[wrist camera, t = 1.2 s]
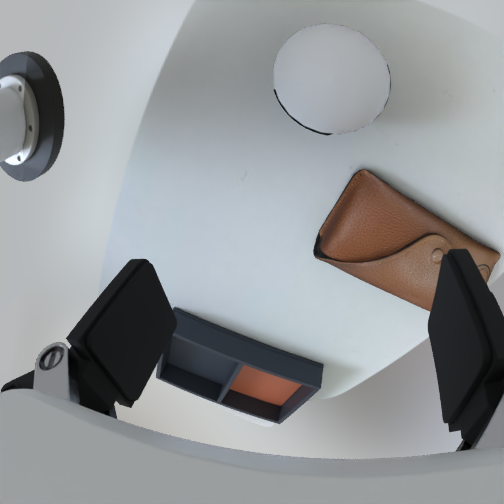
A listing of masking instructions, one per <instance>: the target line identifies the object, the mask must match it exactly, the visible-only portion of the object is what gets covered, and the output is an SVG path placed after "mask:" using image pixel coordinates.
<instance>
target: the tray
mask: <svg viewBox="0 0 504 504" xmlns="http://www.w3.org/2000/svg"><path fill="white" fill-rule="evenodd" d="M173 312H174V315H175V317H176V319H177V327H176V329H175V331H174V333H173V335H172V337H171V339H170V340H169V342H168V344H167V346H166V348H165V350H164V352H163V354H162V355H161V357H160V359H159V361H158V364H157V372H156V378H158V379H160V380H162V381H164V382H167V383H169V384H171V385H173V386H176V387H178V388H180V389H183V390H185V391H187V392H190V393H192V394H195V395H197V396H200V397H202V398H205V399H207V400H210V401H212V402H215V403H218V404H220V405H223V406H226V407H229V408H231V409H234V410H237V411H240V412H243V413H246V414H249V415H252V416H255V417H258V418H261V419H264V420H268V421H271V422H274V423H278V424H280V423H282V422H283V421H284V420H285V419H286V418H287V417H289V416H290V415H291V414H292V413H294V411H296V410H297V409H298V408H299V407H300V406H301V405H303V404H304V403H305V402H306V401H307V400H308V399H309V398H311V397H312V396H313V395H314V394H315V393H316V392H317V391H318V390H319V389H320V388H321V382H322V373H323V364H320V363H317V362H314V361H311V360H308V359H305V358H302V357H299V356H296V355H293V354H291V353H288V352H285V351H282V350H279V349H277V348H274V347H271V346H269V345H266V344H263V343H261V342H258V341H255V340H253V339H250V338H247V337H245V336H242V335H240V334H237V333H235V332H232V331H230V330H227V329H225V328H222V327H220V326H217V325H215V324H212V323H210V322H208V321H205V320H203V319H200V318H198V317H196V316H193V315H191V314H189V313H187V312H184V311H182V310H180V309H177V308H175V307H174V309H173Z"/></svg>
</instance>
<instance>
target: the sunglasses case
mask: <svg viewBox="0 0 504 504" xmlns="http://www.w3.org/2000/svg"><path fill="white" fill-rule="evenodd" d="M463 248H466V249H467V250H468V251H469V253H470V254H471V256H472V258H473V260H474V261H475V263H476V265H477V267H478V269H479V271H480V273H481V274H482V276H483V278H484V280H485V282H486V284H487V281H488V279H489V277H490V275H491V272H492V269H493V267H494V265H495V264H496V262H497V261H498V260H499V258H500V253H498V252H497V251H495V250H493V249H491V248H489V247H487V246H485V245H483V244H481V243H479V242H477V241H475V240H474V239H472V238H470V237H469V236H467V235H466V234H464V233H462V232H461V231H459V230H458V229H457V228H455V227H453V226H452V225H450V224H449V223H447V222H446V221H444V220H442V219H441V218H440V217H438V216H436V215H435V214H433V213H431V212H430V211H428V210H427V209H426V208H424V207H422V206H421V205H419V204H417V203H415V202H414V201H413V200H410V199H409V198H408V197H406V196H404V195H403V194H401V193H400V192H398V191H397V190H395V189H394V188H392V187H391V186H390V185H388V184H387V183H386V182H384V181H383V180H381V179H380V178H379V177H377V176H376V175H374V174H373V173H371V172H370V171H368V170H366V169H362V170H359V171H358V172H356V173H355V174H354V175H353V177H352V178H351V180H350V181H349V183H348V185H347V186H346V188H345V189H344V191H343V192H342V194H341V196H340V198H339V199H338V201H337V202H336V204H335V206H334V207H333V209H332V211H331V212H330V214H329V215H328V217H327V218H326V220H325V222H324V224H323V225H322V227H321V229H320V230H319V233H318V235H317V238H316V242H315V246H314V250H313V252H314V256H315V258H317V259H319V260H321V261H324V262H327V263H329V264H331V265H333V266H335V267H337V268H339V269H341V270H342V271H344V272H346V273H348V274H350V275H352V276H354V277H356V278H358V279H360V280H362V281H365V282H367V283H369V284H371V285H373V286H375V287H377V288H380V289H382V290H384V291H386V292H388V293H391V294H393V295H395V296H397V297H399V298H401V299H404V300H406V301H408V302H410V303H412V304H414V305H416V306H419V307H421V308H423V309H425V310H428V311H430V312H431V308H432V304H433V299H434V295H435V291H436V286H437V281H438V276H439V271H440V266H441V260H442V256H443V255H444V254H447V253H448V250H449V249H463Z"/></svg>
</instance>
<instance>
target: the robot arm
mask: <svg viewBox="0 0 504 504" xmlns="http://www.w3.org/2000/svg"><path fill="white" fill-rule="evenodd" d="M38 135H39V112H38V106H37V102H36V98H35V95H34V93H33V90H32V88H31V87H30V85H29V83H28V82H27V81H26V80H25V79H24V78H22V77H21V76H19V75H9V76H6V77H3V78H2V79H0V162H2V161H5V162H7V163H9V164H11V165H19V164H21V163H23V162H25V161H27V160H28V159H29V158H30V157H31V156H32V154H33V152H34V150H35V148H36V145H37V141H38ZM176 327H177V319H176V317H175V315H174V312H173V310H172V308H171V306H170V304H169V301H168V299H167V297H166V295H165V292H164V290H163V288H162V285H161V283H160V281H159V278H158V276H157V274H156V271H155V269H154V266H153V265H152V264H151V263H149V261H148V260H147V259H132V260H130V261H129V262H128V263H127V264H126V265H125V266H124V268H123V269H122V270H121V271H120V272H119V273H118V274H117V276H116V277H115V278H114V279H113V280H112V282H111V283H110V284H109V285H108V286H107V287H106V289H105V290H104V291H103V292H102V294H101V295H100V296H99V297H98V298H97V300H96V301H95V302H94V303H93V305H92V306H91V307H90V308H89V309H88V311H87V312H86V313H85V315H84V316H83V317H82V318H81V320H80V321H79V322H78V323H77V325H76V326H75V327H74V329H73V330H72V331H71V332H70V334H69V335H68V336H67V338H66V339H67V340H68V342H69V343H70V344H71V348H70V349H69V348H68V347H67V346H66V344H64V343H62V342H56V343H53V344H51V345H49V346H47V347H46V348H45V349H44V350H43V351H42V352H41V353H40V354H39V356H38V358H37V360H36V363H35V370H33V371H31V372H29V373H27V374H25V375H23V376H21V377H18V378H16V379H14V380H12V381H10V382H8V383H6V384H5V385H4V386H3V387H2V389H1V393H0V504H504V316H503V314H502V311H501V309H500V307H499V305H498V303H497V301H496V299H495V297H494V295H493V294H492V292H490V290H489V288H488V286H487V284H486V282H485V280H484V278H483V276H482V274H481V273H480V271H479V269H478V267H477V265H476V263H475V261H474V260H473V258H472V256H471V254H470V253H469V251H468V250H467V249H466V248H463V249H449V250H448V253H447V254H444V255H443V256H442V260H441V266H440V271H439V276H438V281H437V286H436V291H435V295H434V299H433V304H432V308H431V312H430V316H429V320H428V333H429V337H430V342H431V346H432V352H433V357H434V362H435V368H436V373H437V379H438V385H439V392H440V400H441V408H442V416H443V421H444V423H448V425H449V432H453V431H459V430H461V436H462V439H463V441H462V443H461V444H460V446H459V447H458V449H457V450H456V451H455V452H448V453H440V454H431V455H423V456H412V457H399V458H378V459H321V458H304V457H291V456H280V455H271V454H262V453H255V452H249V451H242V450H236V449H230V448H224V447H219V446H213V445H209V444H204V443H200V442H195V441H190V440H186V439H182V438H178V437H174V436H171V435H167V434H163V433H159V432H156V431H153V430H149V429H146V428H142V427H139V426H136V425H133V424H130V423H127V422H124V421H121V420H118V419H117V416H116V411H115V406H114V403H115V401H117V402H118V403H119V404H120V405H123V406H126V407H130V408H131V407H132V405H133V404H134V402H135V401H136V400H138V398H139V397H140V395H141V393H142V391H143V389H144V387H145V386H146V384H147V382H148V380H149V378H150V376H151V374H152V372H153V370H154V369H155V367H156V365H157V363H158V361H159V359H160V357H161V355H162V354H163V352H164V350H165V348H166V346H167V344H168V342H169V340H170V339H171V337H172V335H173V333H174V331H175V329H176Z"/></svg>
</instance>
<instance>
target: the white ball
mask: <svg viewBox="0 0 504 504" xmlns="http://www.w3.org/2000/svg"><path fill="white" fill-rule="evenodd" d="M273 84H274V87H275V90H274V92H275V95H276V97H277V99H278V101H279V103H280V105H281V106H282V108H283V109H284V110H285V112H286V113H287V114H288V115H289V116H290V117H291V118H292V119H293V120H294V121H296V122H297V123H298V124H300V125H301V126H303V127H305V128H306V129H309V130H311V131H313V132H316V133H319V134H323V135H331V134H342V133H347V132H353V131H357V130H359V129H360V128H363V127H364V126H366V125H368V124H370V123H371V122H372V121H373V120H374V119H375V118H376V117H378V115H379V114H380V113H381V112H382V111H383V109H384V107H385V105H386V103H387V101H388V98H389V94H390V88H391V77H390V71H389V68H388V65H387V63H386V60H385V58H384V57H383V55H382V54H381V52H380V51H379V49H378V48H377V46H376V45H375V44H374V43H373V42H371V41H370V40H369V39H368V38H367V37H365V36H364V35H363V34H362V33H360V32H358V31H355V30H353V29H351V28H348V27H346V26H343V25H334V24H319V25H315V26H310V27H306V28H304V29H302V30H300V31H299V32H297V33H295V34H294V35H292V36H291V37H289V39H288V40H287V41H286V42H285V43H284V45H283V46H282V47H281V48H280V50H279V52H278V54H277V57H276V60H275V63H274V66H273ZM381 133H382V132H381ZM397 145H398V144H397Z"/></svg>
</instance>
